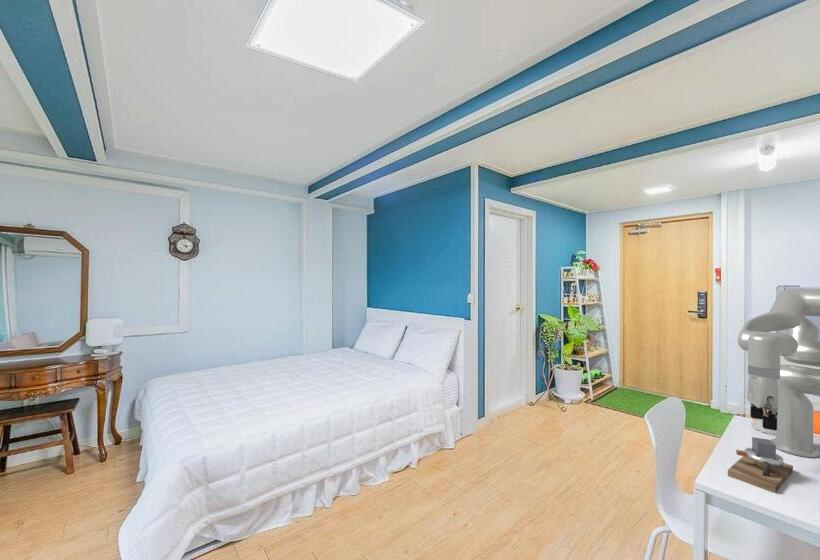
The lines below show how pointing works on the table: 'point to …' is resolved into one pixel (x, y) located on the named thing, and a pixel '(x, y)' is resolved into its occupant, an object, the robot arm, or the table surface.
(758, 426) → the mechanical component
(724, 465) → the table surface
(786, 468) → the base board
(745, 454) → the flange plate
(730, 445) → the table surface
